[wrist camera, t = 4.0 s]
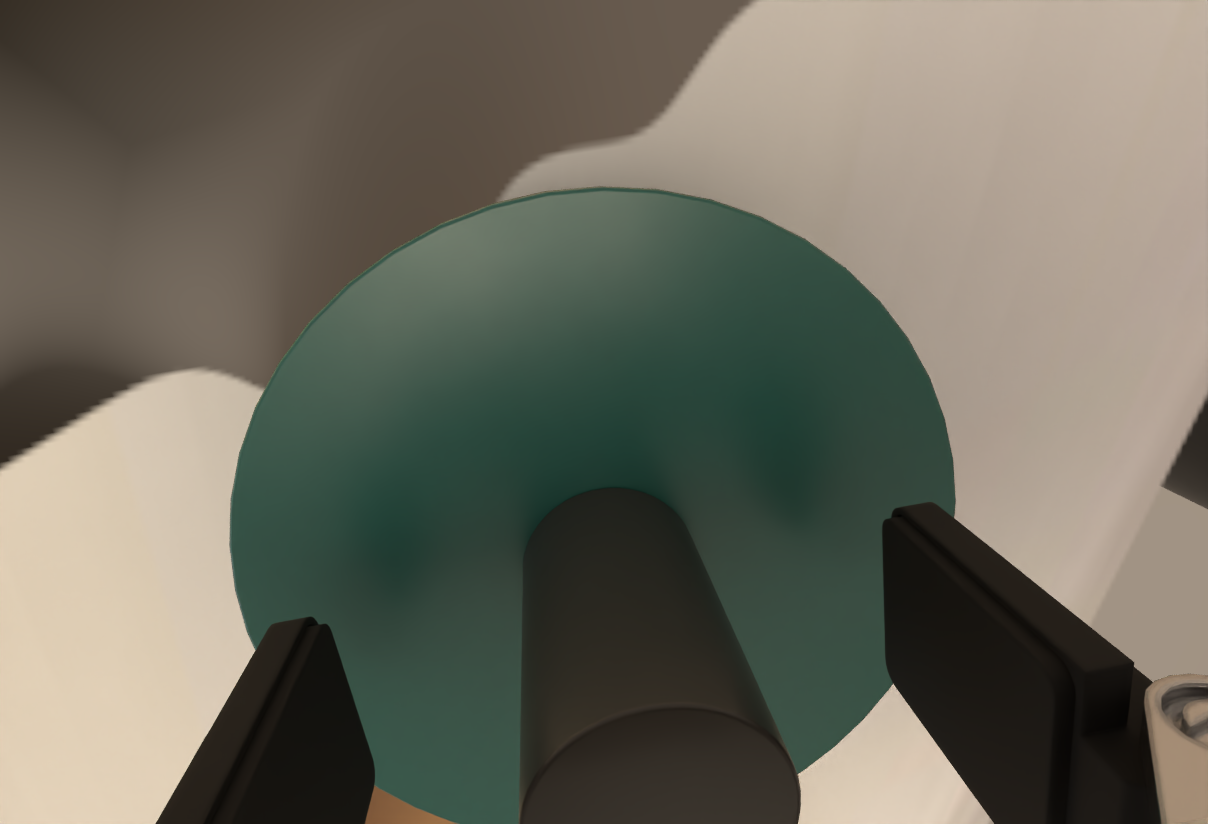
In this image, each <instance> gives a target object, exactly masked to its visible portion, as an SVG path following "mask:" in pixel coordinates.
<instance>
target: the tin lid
mask: <svg viewBox="0 0 1208 824" xmlns="http://www.w3.org/2000/svg"><path fill="white" fill-rule="evenodd" d="M925 502H933V503H935V504H937V505H938V506H939V507H941V508H942V509H943V510H944V511H946V512H947V513H948V514H949V515H951V516H952V517H953V518H954V514H955V484H954V467H953V457H952V452H951V448H950V443H949V438H948V433H947V428H946V423H945V419H944V416H943V413H942V410H941V408H940V405H939V402H938V399H937V397H936V394H935V391H934V388H933V386H932V383H931V380H930V378H929V375H928V374H927V372H926V370H925V368H924V366H923V365H922V363H921V361H920V359H919V357H918V355H917V354H916V352H915V350H914V348H913V346H912V344H911V343H910V341H909V339H908V337H907V336H906V335H905V333H904V332H903V331H902V329H901V328H900V327H899V326H898V324H897V323H896V322H895V320H894V319H893V318H892V316H891V315H890V314H889V312H888V311H887V310H886V309H885V307H884V306H883V305H882V303H881V302H880V301H879V300H878V299H877V298H876V297H875V296H874V295H873V294H872V293H871V292H870V291H869V290H868V289H867V288H866V287H865V286H864V285H863V284H862V283H861V282H860V281H858V280H857V279H856V278H855V277H854V276H853V275H852V274H851V273H850V272H849V271H848V270H847V269H846V268H845V267H843V266H842V265H841V264H839V263H838V262H836V261H835V260H834V259H832V258H831V257H829V256H828V255H827V254H825V253H824V252H822V251H821V250H820V249H818V248H817V247H815V246H814V245H813V244H811V243H810V242H808V241H807V240H805V239H803V238H802V237H800V236H798V235H796V234H794V233H792V232H790V231H788V230H786V229H784V228H782V227H780V226H778V225H776V224H774V223H772V222H770V221H768V220H766V219H764V218H762V217H760V216H758V215H755V214H752V213H749V212H746V211H743V210H740V209H737V208H734V207H731V206H728V205H725V204H722V203H720V202H717V201H714V200H711V199H706V198H700V197H695V196H690V195H685V194H679V193H674V192H669V191H664V190H658V189H644V188H624V187H603V186H598V187H587V188H576V189H565V190H553V191H545V192H540V193H536V194H532V195H527V196H523V197H519V198H514V199H510V200H506V201H501V202H497V203H493V204H490V205H488V206H485V207H483V208H480V209H477V210H475V211H472V212H470V213H467V214H464V215H462V216H459V217H456V218H454V219H451V220H448V221H446V222H443V223H441V224H439V225H437V226H436V227H434V228H432V229H430V230H428V231H427V232H425V233H423V234H421V235H420V236H417V237H416V238H414V239H412V240H410V241H409V242H407V243H405V244H403V245H401V246H399V247H397V248H396V249H394V250H392V251H391V252H389V253H388V254H386V255H385V256H384V257H382V258H381V259H380V260H378V261H377V262H376V263H375V264H373V265H372V266H371V267H369V268H368V269H366V270H365V271H364V272H362V273H361V274H360V275H359V276H357V277H356V278H354V279H353V280H352V281H350V282H349V283H348V284H347V285H346V286H345V287H344V288H343V289H342V290H341V291H340V292H339V293H338V294H337V295H336V296H335V297H334V298H333V299H332V300H331V301H330V302H329V303H328V304H327V305H326V306H325V307H324V308H323V309H322V310H321V311H320V312H319V313H318V314H317V315H316V316H315V317H314V318H313V319H312V320H311V321H310V322H309V323H308V324H307V326H306V327H305V328H304V330H303V331H302V333H301V334H300V335H299V337H298V338H297V339H296V341H295V342H294V343H293V345H292V346H291V347H290V349H289V350H288V351H287V353H286V354H285V356H284V357H283V358H282V359H281V361H280V362H279V364H278V366H277V367H276V369H275V371H274V373H273V375H272V377H271V379H270V381H269V383H268V384H267V386H266V388H265V390H264V392H263V394H262V396H261V397H260V399H259V401H258V403H257V405H256V407H255V410H254V412H253V415H252V418H251V421H250V424H249V427H248V430H247V432H246V435H245V438H244V441H243V444H242V447H241V450H240V452H239V457H238V463H237V468H236V473H235V479H234V484H233V490H232V495H231V508H230V553H231V561H232V569H233V577H234V585H235V591H236V595H237V598H238V602H239V605H240V609H241V612H242V616H243V619H244V623H245V626H246V630H247V633H248V635H249V637H250V639H251V642H252V644H253V646H254V648H255V650H256V649H257V647H258V645H259V644H260V642H261V640H262V639H263V637H264V635H265V633H266V632H267V630H268V628H269V627H270V626H271V625H272V624H274V623H278V622H283V621H288V620H294V619H299V618H305V617H310V616H311V617H313V618H315V620H316V621H317V622H318V625H319V624H328V626H329V627H330V629H331V631H332V634H333V637H334V640H335V643H336V646H337V649H338V652H339V655H340V658H341V661H342V665H343V668H344V671H345V674H346V677H347V680H348V683H349V686H350V689H351V692H352V695H353V699H354V702H355V705H356V708H357V711H358V714H359V717H360V720H361V723H362V726H363V729H364V733H365V736H366V739H367V742H368V745H369V748H370V751H371V754H372V757H373V761H374V767H375V784H374V786H376V787H377V788H379V789H381V790H383V791H384V792H386V793H388V794H390V795H392V796H394V797H396V798H398V799H400V800H401V801H403V802H405V803H407V804H409V805H411V806H413V807H415V808H417V809H420V810H422V811H425V812H427V813H430V814H433V815H435V816H438V817H440V818H443V819H445V820H448V821H451V822H453V823H457V824H798V820H799V814H800V807H801V790H800V784H799V778H798V775H797V774H798V773H800V772H802V771H803V770H804V769H806V768H807V767H808V766H810V765H811V764H812V763H814V762H815V761H816V760H818V759H819V758H820V757H822V756H823V755H824V754H825V753H827V752H828V751H829V750H831V749H832V748H833V747H835V746H836V745H837V744H838V743H839V742H840V741H841V740H842V739H843V738H844V737H845V736H846V735H847V734H848V733H849V732H850V731H852V730H853V729H854V728H855V727H856V726H857V725H858V724H859V723H860V722H861V721H862V720H863V719H864V718H865V717H866V716H867V714H868V713H869V712H870V711H871V710H872V709H873V707H874V706H875V705H876V704H877V703H878V701H879V700H880V699H881V698H882V697H883V696H884V694H885V693H886V692H887V691H888V690H889V688H890V687H891V685H892V684H893V682H892V680H891V678H890V676H889V673H888V670H887V666H886V660H885V629H884V589H883V548H882V524H883V521H884V520H885V519H889V518H891V515H892V512H893V510H894V509H895V508H898V507H903V506H909V505H914V504H920V503H925Z"/></svg>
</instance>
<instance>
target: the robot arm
mask: <svg viewBox="0 0 1208 824" xmlns="http://www.w3.org/2000/svg"><path fill="white" fill-rule="evenodd" d="M882 548H883V589H884V629H885V660H886V666H887V670H888V673H889V676H890V678H891V680H892V682H893V684H894V685H895V687H896V688H897V689H898V691H899V692H900V694H901V695H902V696H903V698H904V699H905V701H906V702H907V703H908V705H909V706H910V708H911V709H912V710H913V712H914V713H915V714H916V716H917V717H918V719H919V720H920V721H921V723H922V724H923V726H924V727H925V728H926V730H927V731H928V732H929V734H930V735H931V737H932V738H933V739H934V741H935V742H936V744H937V745H938V746H939V748H940V749H941V750H942V752H943V753H944V755H945V756H946V757H947V759H948V760H949V762H950V763H951V764H952V766H953V767H954V768H955V770H956V771H957V773H958V774H959V775H960V777H961V778H962V780H963V781H964V782H965V784H966V785H967V786H968V788H969V789H970V791H971V792H972V793H973V795H974V796H975V798H976V799H977V800H978V802H979V803H980V804H981V806H982V807H983V809H984V810H985V811H986V813H987V814H988V816H989V817H990V818H991V820H992V821H993V822H994V824H1208V676H1206V675H1197V674H1181V675H1170V676H1167V677H1164V678H1161V679H1159V680H1156V681H1154V682H1152V681H1151V680H1149V679H1148V678H1147V677H1146V676H1145V675H1143V674H1142V673H1141V672H1140V671H1138V670H1137V669H1136V668H1135V667H1134V662H1133V661H1132V660H1131V659H1129V658H1128V657H1127V656H1126V655H1124V654H1123V653H1122V652H1120V651H1119V650H1118V649H1117V648H1116V647H1114V646H1113V645H1112V644H1111V643H1109V642H1108V641H1107V640H1106V639H1104V638H1103V637H1102V636H1101V635H1099V634H1098V633H1097V632H1096V631H1094V630H1093V629H1092V628H1091V627H1089V626H1088V625H1087V624H1086V623H1084V622H1083V621H1082V620H1081V619H1079V618H1078V617H1077V616H1076V615H1074V614H1073V613H1072V612H1071V611H1069V610H1068V609H1067V608H1066V607H1064V606H1063V605H1062V604H1061V603H1059V602H1058V601H1057V600H1056V599H1054V598H1053V597H1052V596H1051V595H1049V594H1048V593H1047V592H1046V591H1044V590H1043V589H1042V588H1041V587H1039V586H1038V585H1037V584H1036V583H1034V582H1033V581H1032V580H1031V579H1029V578H1028V577H1027V576H1026V575H1024V574H1023V573H1022V572H1021V571H1019V570H1018V569H1017V568H1016V567H1014V566H1013V565H1012V564H1011V563H1009V562H1008V561H1007V560H1006V559H1004V558H1003V557H1002V556H1001V555H999V554H998V553H997V552H996V551H994V550H993V549H992V548H991V547H989V546H988V545H987V544H986V543H984V542H983V541H982V540H981V539H979V538H978V537H977V536H976V535H974V534H973V533H972V532H971V531H969V530H968V529H967V528H966V527H964V526H963V525H962V524H961V523H959V522H958V521H957V520H956V519H954V518H953V517H952V516H951V515H949V514H948V513H947V512H946V511H944V510H943V509H942V508H941V507H939V506H938V505H937V504H935V503H933V502H925V503H920V504H914V505H909V506H903V507H898V508H895V509H894V510H893V512H892V515H891V518H889V519H885V520H884V521H883V524H882ZM374 784H375V767H374V761H373V757H372V754H371V751H370V748H369V745H368V742H367V739H366V736H365V733H364V729H363V726H362V723H361V720H360V717H359V714H358V711H357V708H356V705H355V702H354V699H353V695H352V692H351V689H350V686H349V683H348V680H347V677H346V674H345V671H344V668H343V665H342V661H341V658H340V655H339V652H338V649H337V646H336V643H335V640H334V637H333V634H332V631H331V629H330V627H329V626H328V624H319V625H318V622H317V621H316V620H315V618H313V617H311V616H310V617H305V618H299V619H294V620H288V621H283V622H278V623H274V624H272V625H271V626H270V627H269V628H268V630H267V632H266V633H265V635H264V637H263V639H262V640H261V642H260V644H259V645H258V647H257V649H256V651H255V652H254V654H253V656H252V658H251V659H250V661H249V663H248V665H247V666H246V668H245V670H244V672H243V673H242V675H241V677H240V679H239V680H238V682H237V684H236V686H235V687H234V689H233V691H232V693H231V694H230V696H229V698H228V700H227V701H226V703H225V705H224V707H223V708H222V710H221V712H220V714H219V715H218V717H217V719H216V720H215V722H214V724H213V726H212V727H211V729H210V731H209V733H208V734H207V736H206V737H205V739H204V741H203V742H202V744H201V746H200V748H199V749H198V751H197V753H196V754H195V756H194V758H193V760H192V761H191V763H190V765H189V767H188V768H187V770H186V772H185V774H184V775H183V777H182V779H181V781H180V782H179V784H178V786H177V788H176V789H175V791H174V793H173V795H172V796H171V798H170V800H169V801H168V803H167V805H166V807H165V808H164V810H163V812H162V814H161V815H160V817H159V819H158V821H157V822H156V824H365V821H366V817H367V813H368V809H369V805H370V801H371V797H372V793H373V789H374Z"/></svg>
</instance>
